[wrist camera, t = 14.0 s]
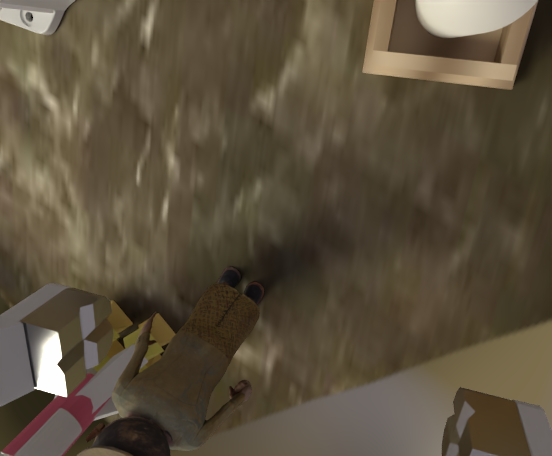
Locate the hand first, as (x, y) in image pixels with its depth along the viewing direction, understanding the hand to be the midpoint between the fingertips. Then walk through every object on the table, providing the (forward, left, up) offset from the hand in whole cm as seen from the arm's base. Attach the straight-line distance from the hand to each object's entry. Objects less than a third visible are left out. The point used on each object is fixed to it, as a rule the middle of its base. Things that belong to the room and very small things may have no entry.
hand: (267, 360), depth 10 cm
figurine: (-11, -20, -31) cm, 39 cm away
